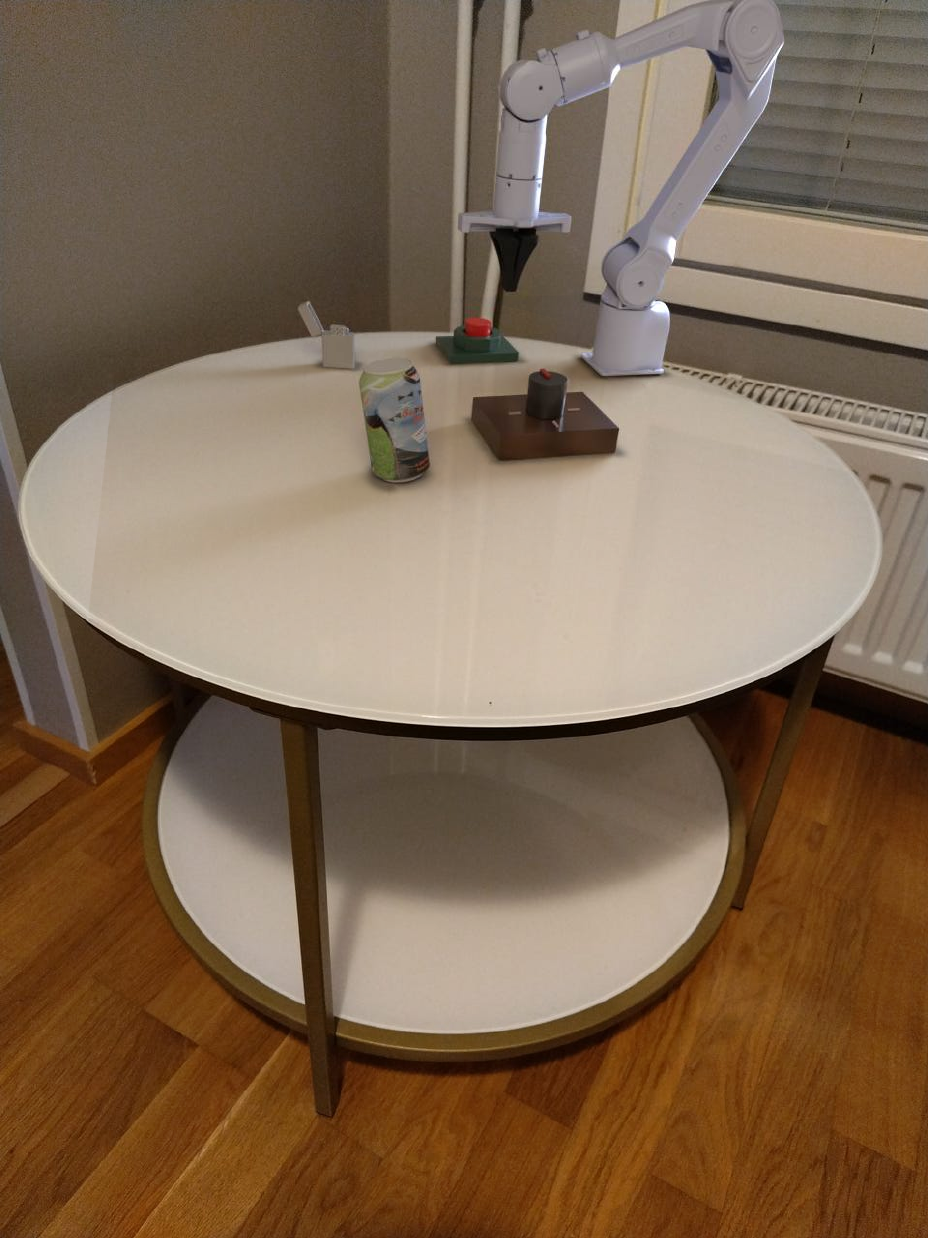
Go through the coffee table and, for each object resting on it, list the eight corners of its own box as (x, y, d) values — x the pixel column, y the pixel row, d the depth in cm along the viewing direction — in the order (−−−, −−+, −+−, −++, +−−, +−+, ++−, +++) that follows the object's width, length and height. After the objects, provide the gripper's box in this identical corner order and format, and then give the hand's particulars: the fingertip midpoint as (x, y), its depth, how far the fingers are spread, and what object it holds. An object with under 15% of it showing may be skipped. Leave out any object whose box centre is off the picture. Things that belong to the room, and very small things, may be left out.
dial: (569, 418, 98) (574, 381, 95) (532, 420, 97) (537, 383, 94) (555, 403, 101) (559, 367, 99) (520, 405, 100) (523, 368, 97)
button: (485, 329, 123) (486, 317, 122) (493, 337, 120) (494, 325, 119) (461, 330, 122) (462, 317, 121) (468, 338, 119) (469, 325, 118)
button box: (500, 342, 127) (502, 321, 125) (518, 361, 121) (520, 339, 119) (435, 344, 124) (436, 323, 123) (449, 363, 118) (450, 342, 117)
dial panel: (579, 414, 107) (582, 389, 105) (615, 452, 98) (619, 426, 96) (470, 420, 103) (472, 395, 101) (498, 460, 95) (501, 434, 93)
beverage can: (421, 493, 87) (425, 378, 80) (352, 483, 88) (349, 368, 81) (435, 467, 92) (440, 357, 85) (369, 457, 93) (369, 347, 86)
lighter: (355, 364, 116) (354, 303, 111) (353, 368, 114) (352, 307, 110) (302, 360, 116) (299, 299, 111) (300, 364, 115) (297, 303, 110)
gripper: (471, 181, 101) (464, 299, 109) (585, 182, 105) (570, 297, 113) (455, 170, 106) (450, 283, 114) (564, 172, 110) (552, 282, 118)
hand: (509, 289), depth 114 cm, fingers closed
